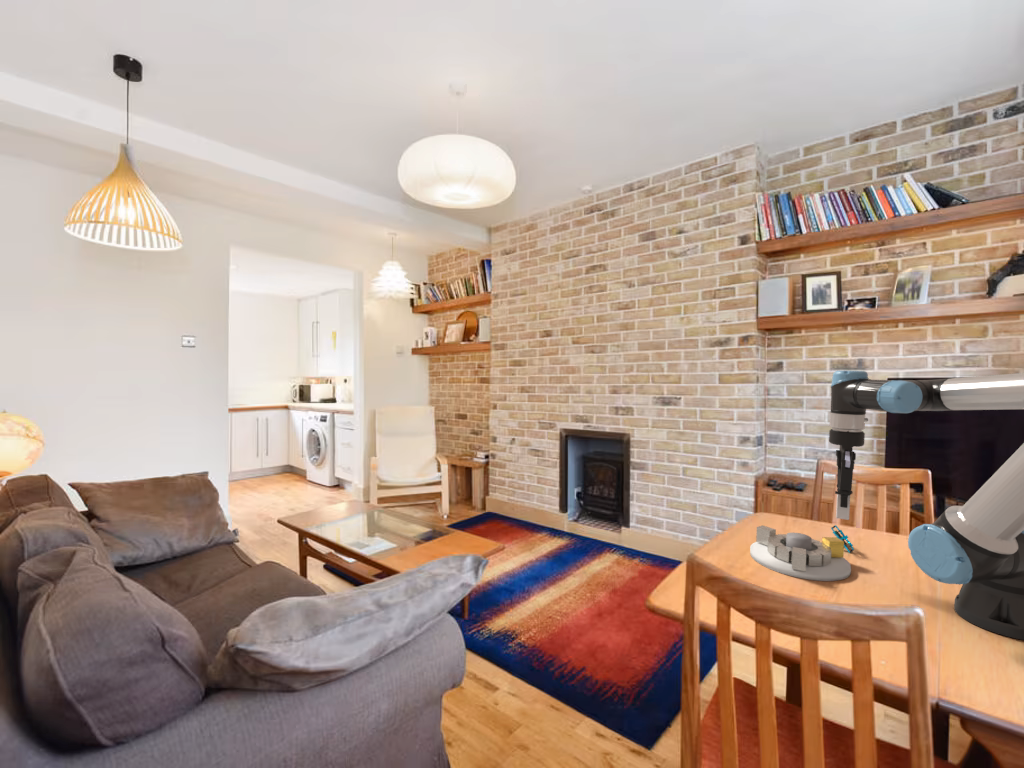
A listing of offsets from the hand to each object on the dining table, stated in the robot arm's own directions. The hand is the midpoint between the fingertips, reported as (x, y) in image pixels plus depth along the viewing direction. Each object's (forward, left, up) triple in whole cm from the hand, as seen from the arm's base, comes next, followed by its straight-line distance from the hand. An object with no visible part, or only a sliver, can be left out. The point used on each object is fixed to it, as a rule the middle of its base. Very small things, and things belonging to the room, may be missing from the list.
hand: (842, 518), depth 124 cm
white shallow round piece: (+7, +7, -15) cm, 18 cm away
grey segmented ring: (+7, +5, -13) cm, 15 cm away
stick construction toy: (+18, -11, -15) cm, 26 cm away
